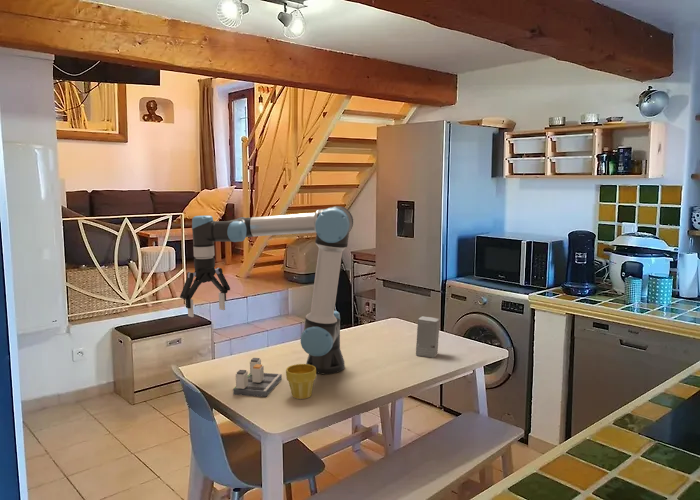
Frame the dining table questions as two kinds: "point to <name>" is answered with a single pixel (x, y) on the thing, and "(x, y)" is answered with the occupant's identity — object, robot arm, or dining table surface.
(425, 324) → the skincare box
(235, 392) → the panel
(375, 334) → the dining table surface
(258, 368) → the block
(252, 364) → the block
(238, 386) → the breaker
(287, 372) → the plant pot
